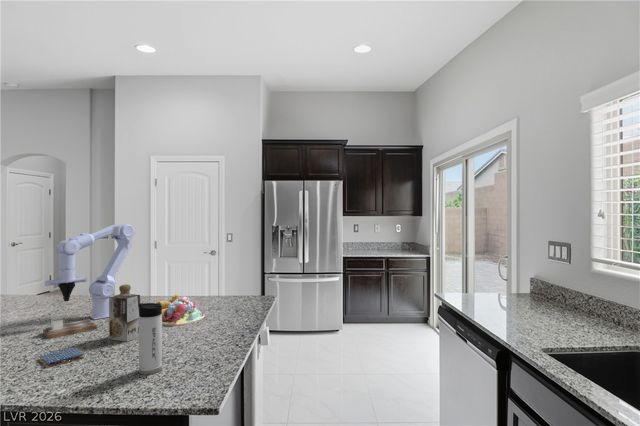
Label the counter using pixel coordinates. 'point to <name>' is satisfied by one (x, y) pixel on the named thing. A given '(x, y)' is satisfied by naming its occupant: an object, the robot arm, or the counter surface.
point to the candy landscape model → (179, 311)
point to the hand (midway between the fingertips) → (66, 300)
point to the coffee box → (124, 317)
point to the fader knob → (56, 323)
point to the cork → (125, 289)
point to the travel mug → (150, 338)
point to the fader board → (70, 329)
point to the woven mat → (60, 357)
